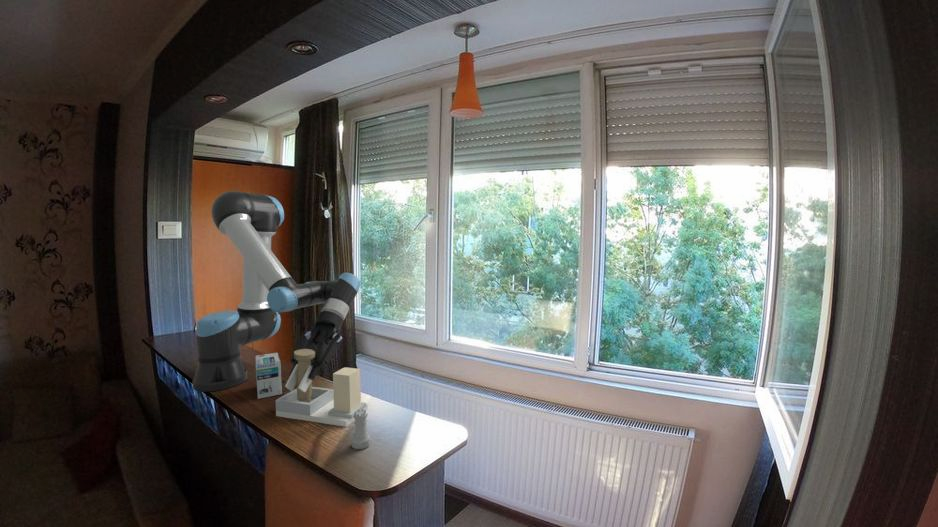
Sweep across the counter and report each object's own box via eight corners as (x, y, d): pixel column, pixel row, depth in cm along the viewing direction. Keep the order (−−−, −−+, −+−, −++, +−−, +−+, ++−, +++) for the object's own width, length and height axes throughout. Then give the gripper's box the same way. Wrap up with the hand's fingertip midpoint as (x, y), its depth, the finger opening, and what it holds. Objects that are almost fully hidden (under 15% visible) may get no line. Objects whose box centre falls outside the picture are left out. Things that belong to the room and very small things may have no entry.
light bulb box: (282, 394, 110) (281, 360, 109) (257, 399, 106) (255, 364, 105) (279, 383, 119) (278, 351, 118) (256, 387, 115) (255, 355, 114)
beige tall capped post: (301, 410, 95) (301, 356, 94) (290, 403, 100) (290, 351, 99) (318, 404, 99) (318, 352, 98) (307, 397, 103) (307, 347, 102)
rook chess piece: (363, 452, 80) (362, 417, 79) (347, 448, 81) (346, 414, 81) (374, 441, 84) (374, 408, 83) (359, 437, 85) (358, 405, 85)
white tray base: (276, 416, 96) (274, 371, 95) (302, 400, 106) (300, 359, 105) (348, 427, 90) (347, 379, 90) (369, 409, 100) (368, 366, 99)
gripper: (360, 324, 111) (328, 398, 96) (315, 321, 115) (277, 391, 100) (350, 311, 105) (314, 387, 90) (303, 308, 110) (261, 380, 95)
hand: (295, 389), depth 95 cm, fingers closed on beige tall capped post, 4 cm apart
